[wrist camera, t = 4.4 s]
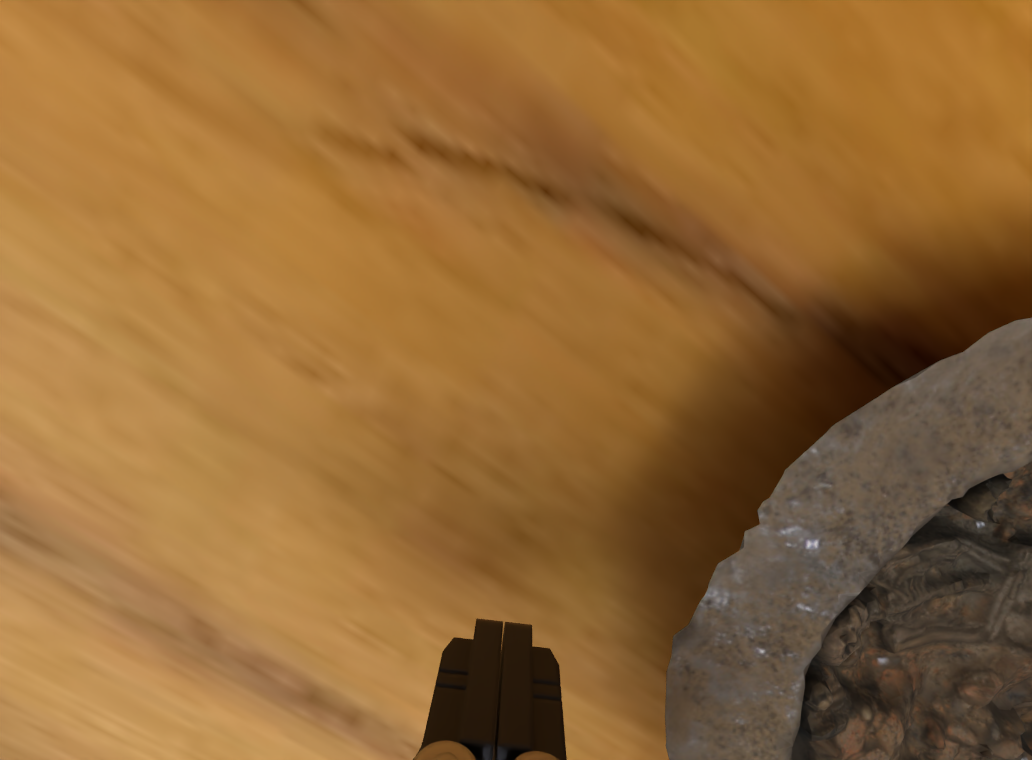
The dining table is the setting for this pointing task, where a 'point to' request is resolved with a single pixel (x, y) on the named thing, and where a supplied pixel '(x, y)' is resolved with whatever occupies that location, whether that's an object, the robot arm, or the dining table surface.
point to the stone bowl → (880, 585)
